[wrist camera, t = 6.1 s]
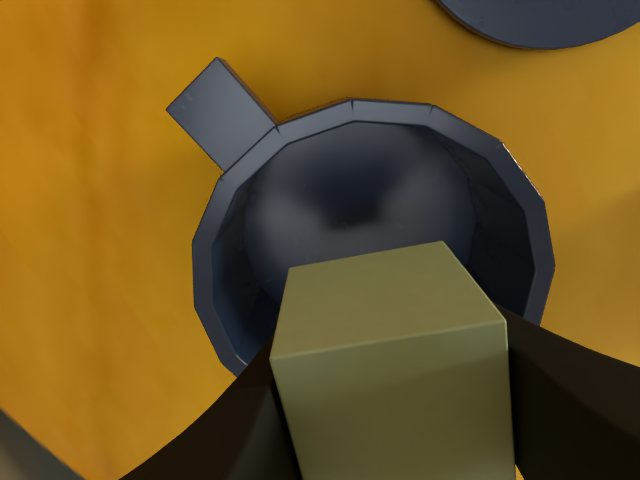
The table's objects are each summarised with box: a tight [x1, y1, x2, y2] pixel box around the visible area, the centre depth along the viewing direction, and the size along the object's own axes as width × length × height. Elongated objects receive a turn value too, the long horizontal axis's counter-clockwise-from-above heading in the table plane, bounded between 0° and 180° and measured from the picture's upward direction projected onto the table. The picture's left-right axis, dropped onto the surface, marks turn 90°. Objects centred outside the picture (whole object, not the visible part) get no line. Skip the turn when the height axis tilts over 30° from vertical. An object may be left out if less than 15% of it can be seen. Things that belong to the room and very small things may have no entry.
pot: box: [166, 57, 555, 377], centre depth 18 cm, size 12×18×6 cm
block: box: [269, 241, 516, 480], centre depth 10 cm, size 4×4×4 cm
